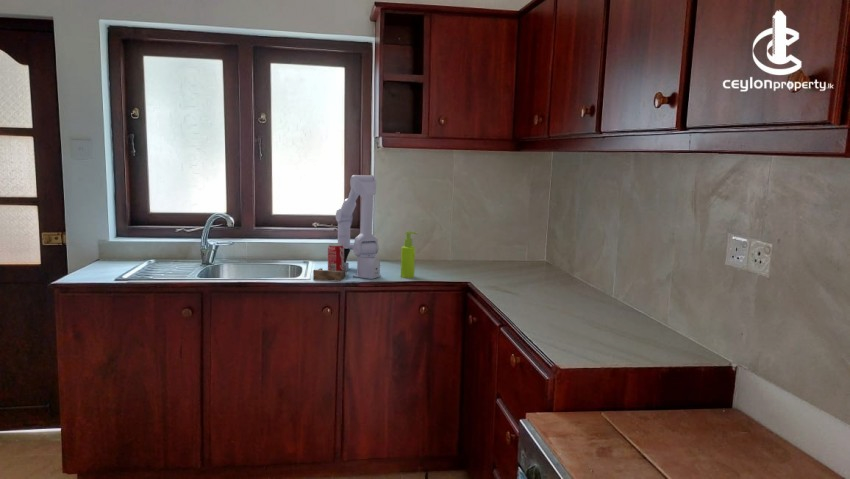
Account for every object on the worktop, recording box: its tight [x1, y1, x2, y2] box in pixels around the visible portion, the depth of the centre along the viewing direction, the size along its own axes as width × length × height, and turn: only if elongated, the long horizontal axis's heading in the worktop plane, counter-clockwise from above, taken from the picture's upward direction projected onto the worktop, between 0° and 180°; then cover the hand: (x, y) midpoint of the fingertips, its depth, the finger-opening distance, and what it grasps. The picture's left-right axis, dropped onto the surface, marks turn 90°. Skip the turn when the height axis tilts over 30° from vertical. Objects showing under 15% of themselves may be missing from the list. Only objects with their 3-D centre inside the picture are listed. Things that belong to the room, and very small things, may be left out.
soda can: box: [327, 243, 344, 271], centre depth 260 cm, size 7×7×13 cm
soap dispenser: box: [400, 230, 419, 279], centre depth 257 cm, size 6×7×20 cm
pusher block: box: [344, 262, 350, 272], centre depth 269 cm, size 7×6×3 cm
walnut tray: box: [312, 267, 347, 282], centre depth 250 cm, size 11×10×4 cm
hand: (343, 264), depth 275 cm, fingers closed
